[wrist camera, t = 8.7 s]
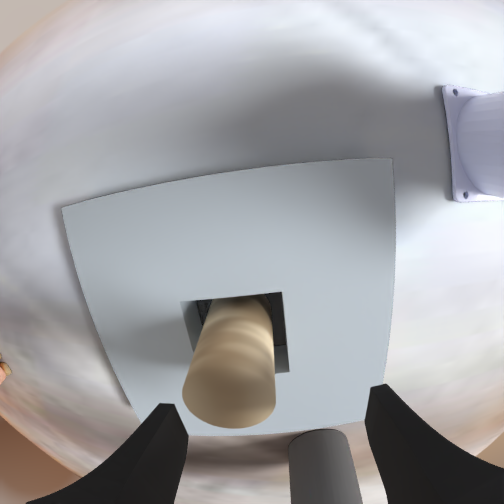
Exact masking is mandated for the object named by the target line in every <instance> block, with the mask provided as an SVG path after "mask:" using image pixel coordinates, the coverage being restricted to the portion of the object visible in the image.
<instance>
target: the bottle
mask: <svg viewBox="0 0 504 504" xmlns="http://www.w3.org/2000/svg"><path fill="white" fill-rule="evenodd" d="M288 457H289V474H290V492H291V504H363V502H362V497H361V493H360V488H359V484H358V480H357V476H356V471H355V467H354V463H353V459H352V455H351V451H350V447H349V444H348V440H347V437H346V436H345V434H343V433H342V432H340V431H338V430H333V429H321V430H315V431H311V432H308V433H305V434H302V435H300V436H299V437H297V438H296V439H294V440H293V441H292V442H291V443H290V445H289V448H288Z"/></svg>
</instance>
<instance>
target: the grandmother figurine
mask: <svg viewBox="0 0 504 504" xmlns="http://www.w3.org/2000/svg"><path fill="white" fill-rule="evenodd" d="M0 359H1V354H0ZM11 373H12V372H11V369H10V368H9V366H8V365H7V364H6V363H3V362H0V385H1V383H2V382H3V381H4V380H5V378H6V376H8V375H10V374H11Z"/></svg>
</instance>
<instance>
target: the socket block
mask: <svg viewBox="0 0 504 504" xmlns="http://www.w3.org/2000/svg"><path fill="white" fill-rule="evenodd" d="M61 210H62V215H63V220H64V225H65V229H66V233H67V238H68V242H69V246H70V250H71V253H72V257H73V261H74V264H75V268H76V271H77V275H78V278H79V281H80V284H81V288H82V291H83V294H84V297H85V300H86V303H87V305H88V308H89V311H90V314H91V317H92V319H93V322H94V325H95V327H96V330H97V332H98V335H99V337H100V340H101V342H102V345H103V347H104V349H105V352H106V354H107V356H108V359H109V361H110V363H111V365H112V368H113V370H114V372H115V374H116V376H117V378H118V380H119V382H120V384H121V386H122V388H123V390H124V392H125V394H126V396H127V398H128V400H129V402H130V404H131V406H132V408H133V409H134V411H135V413H136V415H137V417H138V419H139V420H140V422H141V424H142V423H143V421H144V420H145V419H146V418H147V417H148V416H149V414H150V413H151V412H152V411H153V410H154V409H155V408H156V406H157V405H158V404H159V403H171V404H175V406H176V409H177V411H178V413H179V415H180V418H181V420H182V422H183V424H184V426H185V429H186V431H187V433H188V435H196V436H240V435H261V434H274V433H285V432H295V431H303V430H311V429H318V428H324V427H330V426H336V425H342V424H347V423H352V422H357V421H361V420H365V416H366V410H367V405H368V399H369V394H370V387H373V386H378V385H382V384H383V378H384V372H385V366H386V360H387V353H388V345H389V337H390V329H391V319H392V309H393V296H394V280H395V252H396V220H395V192H394V176H393V163H392V158H362V159H344V160H330V161H317V162H305V163H295V164H285V165H276V166H267V167H259V168H251V169H244V170H237V171H230V172H223V173H217V174H210V175H204V176H198V177H192V178H187V179H181V180H176V181H170V182H165V183H160V184H155V185H150V186H145V187H141V188H136V189H131V190H127V191H122V192H118V193H114V194H110V195H106V196H101V197H97V198H93V199H89V200H86V201H82V202H79V203H75V204H72V205H69V206H65V207H62V208H61ZM273 292H281V294H282V303H283V313H284V324H285V334H286V345H278V346H273V347H274V367H275V387H276V405H275V408H274V411H273V412H272V414H271V415H270V416H269V417H268V418H267V419H266V420H264V421H263V422H261V423H259V424H257V425H254V426H251V427H247V428H240V429H228V428H221V427H217V426H213V425H210V424H208V423H206V422H204V421H202V420H200V419H198V418H197V417H196V416H194V415H193V414H192V413H191V412H190V411H189V410H188V408H187V407H186V405H185V403H184V401H183V398H182V388H183V385H184V382H185V379H186V376H187V373H188V370H189V367H190V364H191V361H192V358H193V355H194V352H195V349H196V346H197V343H198V340H199V337H200V334H201V331H202V324H201V320H200V316H199V312H198V307H197V303H196V300H205V299H216V298H226V297H236V296H246V295H255V294H264V293H273Z"/></svg>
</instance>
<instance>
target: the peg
mask: <svg viewBox="0 0 504 504" xmlns="http://www.w3.org/2000/svg"><path fill="white" fill-rule="evenodd" d="M182 398H183V401H184V403H185V405H186V407H187V408H188V410H189V411H190V412H191V413H192V414H193V415H194V416H196V417H197V418H198V419H200V420H202V421H204V422H206V423H208V424H210V425H213V426H217V427H221V428H228V429H240V428H247V427H251V426H254V425H257V424H259V423H261V422H263V421H264V420H266V419H267V418H268V417H269V416H270V415H271V414H272V412H273V411H274V408H275V405H276V387H275V367H274V347H273V329H272V311H271V306H270V303H269V301H268V299H267V298H266V296H265V295H264V294H255V295H246V296H236V297H226V298H216V299H213V300H212V302H211V305H210V308H209V311H208V314H207V317H206V320H205V323H204V325H203V328H202V331H201V334H200V337H199V340H198V343H197V346H196V349H195V352H194V355H193V358H192V361H191V364H190V367H189V370H188V373H187V376H186V379H185V382H184V385H183V388H182Z"/></svg>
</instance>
